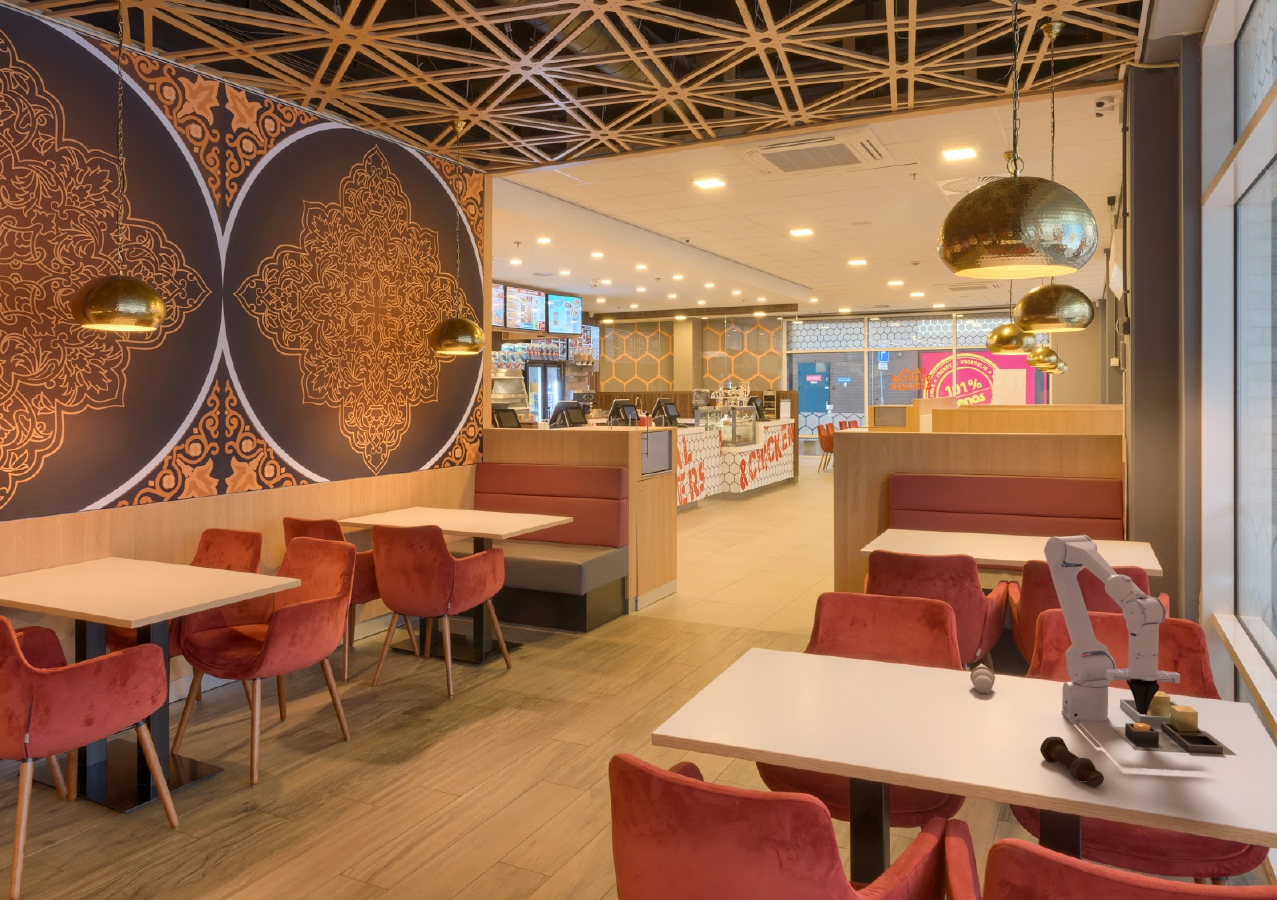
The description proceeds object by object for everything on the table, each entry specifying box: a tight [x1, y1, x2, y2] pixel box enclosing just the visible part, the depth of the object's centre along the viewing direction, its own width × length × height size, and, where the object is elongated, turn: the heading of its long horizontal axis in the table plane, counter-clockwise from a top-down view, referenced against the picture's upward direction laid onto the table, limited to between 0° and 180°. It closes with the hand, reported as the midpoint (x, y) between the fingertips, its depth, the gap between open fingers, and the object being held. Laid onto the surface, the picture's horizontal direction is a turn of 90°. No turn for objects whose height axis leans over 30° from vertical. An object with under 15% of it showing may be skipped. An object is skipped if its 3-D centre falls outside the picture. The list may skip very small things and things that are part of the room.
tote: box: [1119, 698, 1180, 727], centre depth 207 cm, size 12×12×3 cm
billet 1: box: [1145, 690, 1171, 717], centre depth 207 cm, size 4×4×6 cm
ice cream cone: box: [969, 663, 996, 694], centre depth 234 cm, size 6×6×15 cm
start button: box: [1134, 722, 1150, 731], centre depth 194 cm, size 3×3×2 cm
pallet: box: [1110, 722, 1237, 756], centre depth 193 cm, size 20×14×4 cm
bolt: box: [1039, 736, 1105, 788], centre depth 178 cm, size 6×5×15 cm
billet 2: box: [1170, 705, 1199, 733], centre depth 196 cm, size 4×4×6 cm
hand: (1141, 712), depth 194 cm, fingers closed
